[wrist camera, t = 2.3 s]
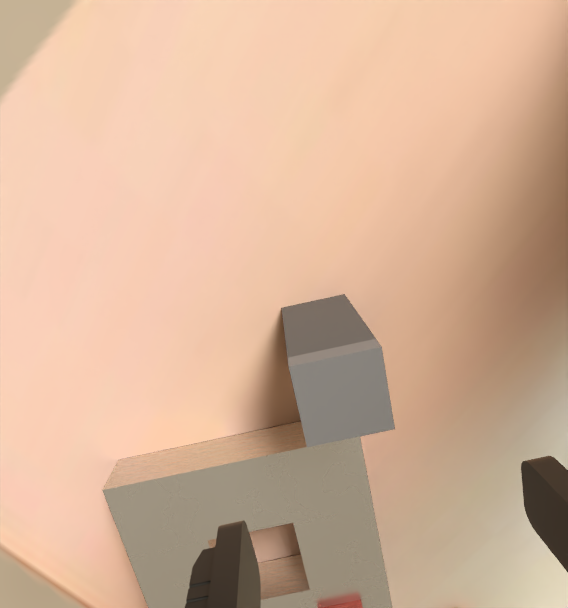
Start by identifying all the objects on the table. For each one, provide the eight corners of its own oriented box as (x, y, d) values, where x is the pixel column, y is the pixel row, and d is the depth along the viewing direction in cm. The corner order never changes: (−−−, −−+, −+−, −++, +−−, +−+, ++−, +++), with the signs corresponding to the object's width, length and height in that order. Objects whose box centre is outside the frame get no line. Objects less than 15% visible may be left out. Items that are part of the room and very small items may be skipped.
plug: (281, 308, 27) (288, 367, 18) (344, 294, 27) (381, 347, 18) (294, 365, 28) (307, 447, 19) (355, 353, 28) (394, 429, 19)
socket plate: (118, 459, 29) (98, 496, 26) (350, 410, 29) (362, 441, 26) (182, 634, 34) (173, 685, 30) (385, 592, 33) (399, 640, 30)
